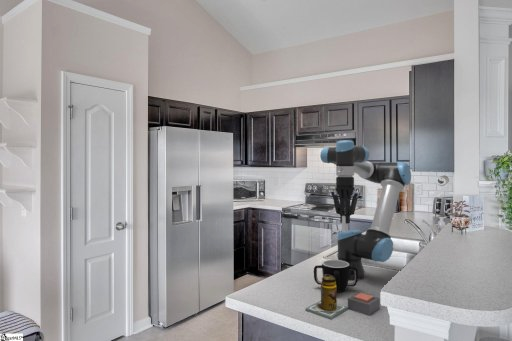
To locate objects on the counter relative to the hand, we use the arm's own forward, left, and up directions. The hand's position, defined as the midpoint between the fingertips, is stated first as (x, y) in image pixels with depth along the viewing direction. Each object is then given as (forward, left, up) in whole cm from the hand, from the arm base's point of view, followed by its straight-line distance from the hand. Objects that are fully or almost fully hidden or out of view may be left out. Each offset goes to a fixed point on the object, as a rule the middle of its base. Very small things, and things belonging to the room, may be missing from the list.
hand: (345, 230), depth 149 cm
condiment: (+18, +2, -28) cm, 33 cm away
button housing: (+7, +12, -28) cm, 32 cm away
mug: (-4, -7, -29) cm, 30 cm away
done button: (+7, +12, -27) cm, 30 cm away
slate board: (+18, +2, -28) cm, 34 cm away
